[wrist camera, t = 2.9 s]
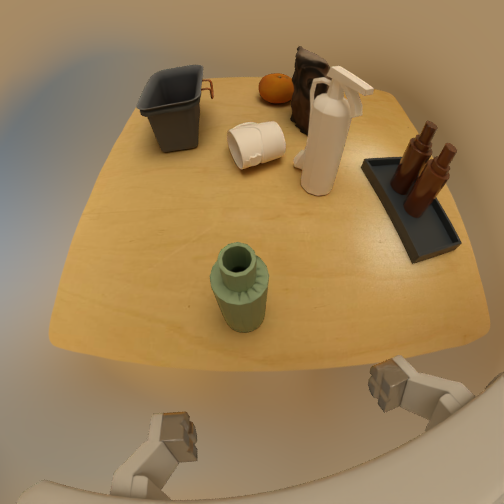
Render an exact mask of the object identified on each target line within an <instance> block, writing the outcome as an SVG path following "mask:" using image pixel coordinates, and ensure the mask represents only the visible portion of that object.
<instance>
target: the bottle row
mask: <svg viewBox="0 0 504 504" xmlns="http://www.w3.org/2000/svg"><path fill="white" fill-rule="evenodd" d="M436 130H437V126H436V125H435V124H434V123H432V122H430V121H426V123H425V126H424V128H423V130H422V132H421V134H420V135H416V137H415V138H412V139H411V140H410V142H409V144H408V146H407V148H406V150H405V152H404V154H403V156H402V159H401V161H400V163H399V165H398V167H397V169H396V171H395V173H394V175H393V177H392V179H391V181H390V185H391V187H392V188H393V190H394V191H396V192H397V193H399V194H401V195H407V194H408V196H407V197H406V199H405V200H404V202H403V206H404V209H405V211H406V212H407V213H408V214H409V215H410V216H412V217H414V218H420V217H422V215H423V214H424V213H425V211H426V210H427V209H428V207H429V206H430V205H431V203H432V202H433V200H434V199H435V198H436V196H437V195H438V193H439V192H440V191H441V189H442V188H443V186H444V185H445V183H446V182H447V180H448V179H449V170H450V166H449V164H450V163H451V161H452V159H453V158H454V156H455V154H456V153H457V150H456V148H455V147H454V146H453V145H452V144H450V143H446V144H445V146H444V148H443V150H442V152H441V153H440V155H439V157H438V156H436V157H434V159H430V160H429V158H430V157H431V155H432V149H431V147H432V143H431V140H432V138H433V136H434V134H435V132H436Z"/></svg>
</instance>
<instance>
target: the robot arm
mask: <svg viewBox="0 0 504 504" xmlns="http://www.w3.org/2000/svg"><path fill="white" fill-rule="evenodd" d="M370 374H371V375H372V376H371V377H370V379H369V382H368V386H369V390H370V392H371V394H372V396H373V397H374V398H377V399H378V405H379V406H380V407H381V409H382V410H383V412H384V413H385V412H387V411H389V410H392V409H394V408H396V407H398V406H400V407H402V408H404V409H406V410H408V411H410V412H412V413H414V414H417V415H419V416H421V417H423V418H426V419H428V420H430V421H429V423H428V425H427V427H426V430H425V431H426V432H424V433H423V434H421V435H419V436H417V437H416V438H414V439H412V440H410V441H408V442H407V443H405V444H403V445H401V446H399V447H397V448H395V449H393V450H391V451H389V452H387V453H385V454H383V455H380V456H378V457H376V458H374V459H372V460H369V461H367V462H365V463H362V464H360V465H357V466H355V467H352V468H350V469H347V470H344V471H342V472H339V473H336V474H333V475H330V476H327V477H324V478H321V479H318V480H314V481H311V482H307V483H303V484H300V485H296V486H292V487H287V488H284V489H279V490H274V491H269V492H264V493H258V494H252V495H245V496H237V497H229V498H219V499H204V500H171V499H170V498H169V497H168V496H167V495H166V494H165V493H164V492H162V491H161V489H162V488H163V486H164V485H165V484H166V482H167V481H168V479H169V478H170V476H171V475H172V473H173V472H174V470H175V469H176V467H177V466H178V464H179V462H192V461H197V448H196V446H195V443H196V442H197V434H196V429H195V426H194V424H193V422H191V421H189V418H190V416H189V415H188V413H187V412H173V413H156V414H153V415H152V416H151V422H150V428H149V434H148V441H147V442H144V443H143V444H142V445H141V446H140V447H139V448H138V449H137V450H136V451H135V452H134V453H133V454H132V455H131V456H130V457H129V458H128V459H127V460H126V461H125V462H124V463H123V464H122V465H121V466H120V467H119V468H118V469H117V470H116V471H115V472H114V474H113V480H112V485H111V491H110V495H107V494H101V493H96V492H91V491H86V490H82V489H77V488H73V487H69V486H66V485H62V484H58V483H55V482H52V481H48V480H42V481H40V482H38V483H36V484H34V485H33V486H31V487H30V488H28V489H27V490H26V491H24V492H23V493H22V494H21V495H20V497H19V499H18V501H17V503H16V504H504V373H503V374H502V375H501V376H500V377H499V378H498V379H496V380H495V381H494V382H493V383H492V384H491V385H490V386H488V387H487V388H486V389H485V390H484V391H483V392H481V393H480V394H479V395H478V396H476V397H475V396H474V395H473V394H472V393H471V392H470V391H469V390H468V389H467V388H466V387H465V386H464V385H463V384H462V383H460V382H456V381H452V380H448V379H444V378H440V377H436V376H433V375H428V374H425V373H418V372H417V371H416V370H415V369H414V368H413V367H412V366H411V365H410V364H409V363H408V362H407V361H406V360H405V359H404V358H403V357H402V356H401V355H397V356H395V357H393V358H391V359H388V360H386V361H383V362H381V363H378V364H376V365H374V366H372V367H371V369H370Z"/></svg>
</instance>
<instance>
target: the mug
mask: <svg viewBox="0 0 504 504" xmlns="http://www.w3.org/2000/svg"><path fill="white" fill-rule="evenodd" d="M227 141H228V145H229V149H230V152H231V154H232V157H233V159H234V161H235V163H236V164H237V166H238V167H239V168H240V169H245V168H247V167H250V166H255V165H258V164H259V163H262V164H263V163H265V162H268V161H271V160H274V159H277V158H280V157H282V156H284V154H285V151H286V144H285V138H284V135H283V132H282V130H281V128H280V126H279V125H278V124H277V123H276V122H274V121H270V122H264V123H258V124H257V123H255V122H247V123H242V124H240V125H237V126H236V127H234V128H232V129H230V130H229V131H228V132H227Z"/></svg>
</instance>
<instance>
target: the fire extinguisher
mask: <svg viewBox="0 0 504 504" xmlns="http://www.w3.org/2000/svg"><path fill="white" fill-rule="evenodd" d="M327 76H328V77H330V78H332V81H331V80H329V79H327V78H325V77H322V78H315V79H313V82H312V86H311V89H310V119H309V130H308V139H307V145H306V147H305V149H304V150H301V151H300V152H299V153H298V154H297V155H296V156H295V157H294V167H297V168H300V169H302V176H301V186H302V187H303V188H304V189H305V190H306V191H307V192H308V193H311V194H314V195H317V196H319V195H326V194H328V193H329V192H330V191H331V190H332V188H333V184H334V181H335V178H336V174H337V171H338V167H339V164H340V160H341V157H342V153H343V149H344V146H345V142H346V138H347V134H348V131H349V127H350V123H351V119H352V118H353V117H358V116H361V115H362V103H361V100H360V97H359V94H358V92H359V93H361V94H362V95H364V96H366V95H371V94H373V90H374V88H373V87H371V86H370V85H368V84H367V83H366V82H364V81H363V80H361V79H359V78H358V77H357V76H355V75H353V74H352V73H350V72H349V71H347V70H346V69H344V68H342V67H340V66H334V67H331V68H330V70H329V72H328V74H327ZM317 83H325V84H327V85H329V89H328V92H327V93H323V94H321V95H319V96H317V97H316V98H315V100H314V92H315V88H316V84H317ZM344 92H345V94H346V97H347V99H345V98H343V97H344Z"/></svg>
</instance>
